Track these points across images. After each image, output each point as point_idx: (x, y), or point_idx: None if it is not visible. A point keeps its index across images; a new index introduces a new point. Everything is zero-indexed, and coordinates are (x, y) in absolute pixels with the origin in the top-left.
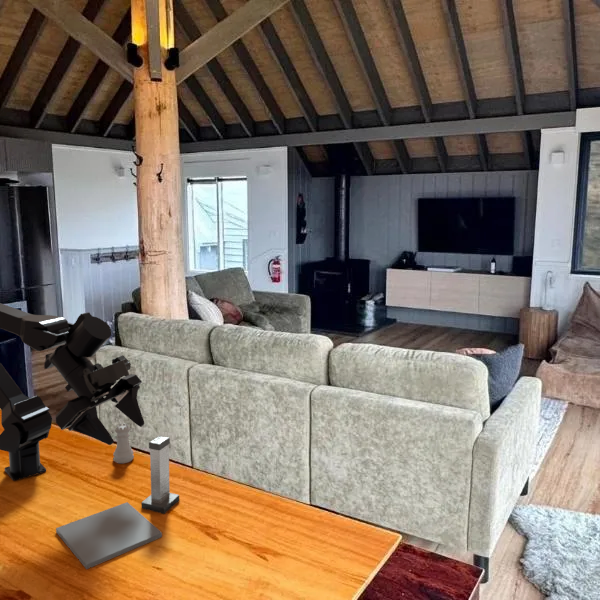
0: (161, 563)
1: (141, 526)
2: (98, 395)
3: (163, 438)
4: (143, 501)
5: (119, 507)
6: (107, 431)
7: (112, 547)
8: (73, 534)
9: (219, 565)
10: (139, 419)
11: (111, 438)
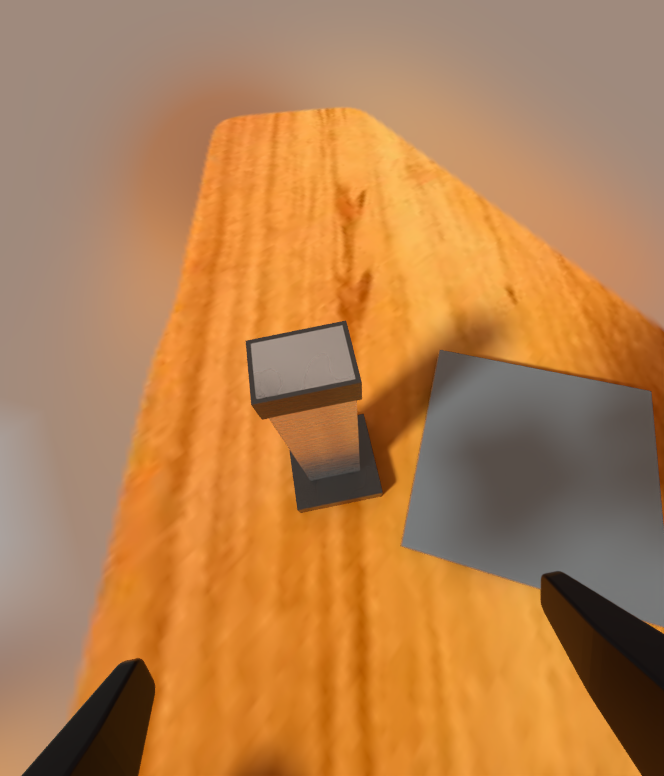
0: (497, 297)
1: (457, 405)
2: None
3: (272, 357)
4: (375, 490)
5: (440, 540)
6: (644, 658)
7: (565, 395)
8: (632, 536)
9: (425, 228)
10: (110, 729)
11: (573, 594)
